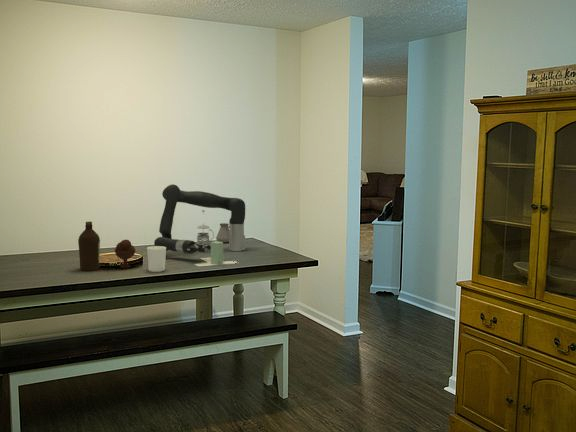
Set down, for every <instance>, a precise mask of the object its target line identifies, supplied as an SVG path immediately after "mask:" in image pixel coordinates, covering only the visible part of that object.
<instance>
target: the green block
mask: <svg viewBox="0 0 576 432" xmlns="http://www.w3.org/2000/svg"><path fill="white" fill-rule="evenodd" d="M210 246H211V250H210V257H211V264H216V265H215V266H220V265H219V264H222V263H223V262H224V243H223V242H218V241H217V240H215V241H212V242H211V241H210Z"/></svg>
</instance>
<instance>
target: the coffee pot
mask: <svg viewBox="0 0 576 432" xmlns="http://www.w3.org/2000/svg"><path fill="white" fill-rule="evenodd" d="M216 234H217V235H216V236H215V241H217V242H229V223H227V222H226V223H224V222H223V223H219V229H218V233H216Z"/></svg>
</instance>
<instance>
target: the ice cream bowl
mask: <svg viewBox="0 0 576 432" xmlns="http://www.w3.org/2000/svg"><path fill="white" fill-rule="evenodd" d="M114 253H115V255H116V256H117V257H118V258H119V259H121V260H122V261H123V264H120V265H119V268H122V269H127V268H131V265H130V264H129V263H128V260H129V259H131V258H132V257H133V256H135V254H136V248H135V246H134V245H132V242H131V241H130V239H122V240H121V241H120V242H118V243H117V244H116V246H115V248H114Z"/></svg>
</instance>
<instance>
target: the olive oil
mask: <svg viewBox="0 0 576 432" xmlns="http://www.w3.org/2000/svg"><path fill="white" fill-rule="evenodd" d="M84 227H85V229H84V230H83V231H82V232H81V234H80V235H79V236H78V240H77V241H78V243H77V245H78V254H79V255H78V256H79V268H80V271H82V272H93V271H97V270H98V271H99V269H100V255H101V254H100V249H101V245H100V244H101V239H100V236H99V234H98V233H97V232H96V231H94V229H93V222H92V221H85V226H84Z"/></svg>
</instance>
